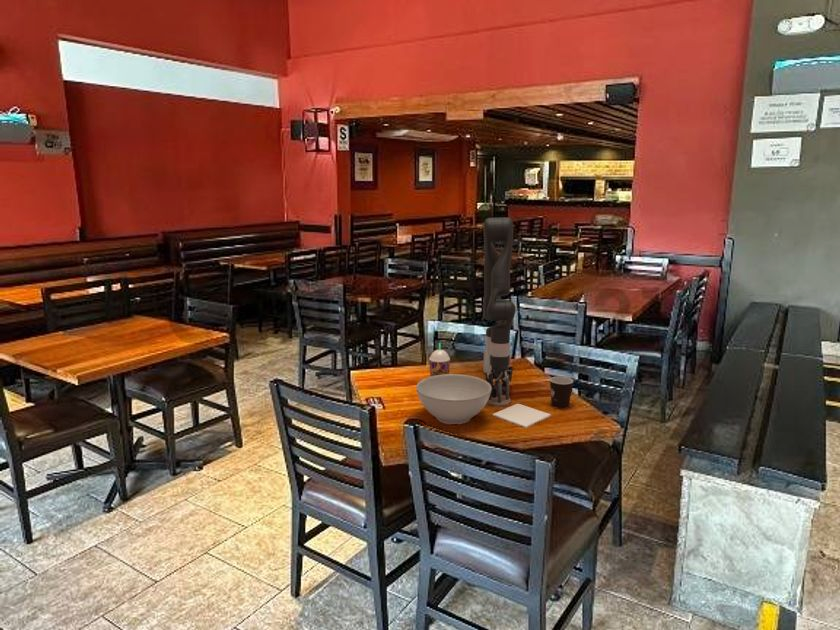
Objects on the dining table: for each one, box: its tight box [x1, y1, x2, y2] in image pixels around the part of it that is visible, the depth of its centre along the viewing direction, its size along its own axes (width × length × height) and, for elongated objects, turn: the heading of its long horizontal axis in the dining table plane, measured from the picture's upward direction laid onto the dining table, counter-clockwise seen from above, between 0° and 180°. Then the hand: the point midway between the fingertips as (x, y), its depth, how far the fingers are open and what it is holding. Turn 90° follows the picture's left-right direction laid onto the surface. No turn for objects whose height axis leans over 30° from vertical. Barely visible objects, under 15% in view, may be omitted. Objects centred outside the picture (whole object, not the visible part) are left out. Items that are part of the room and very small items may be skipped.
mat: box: [491, 403, 552, 429], centre depth 216 cm, size 15×15×1 cm
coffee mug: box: [549, 376, 574, 409], centre depth 227 cm, size 12×9×10 cm
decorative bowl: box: [415, 373, 492, 425], centre depth 214 cm, size 27×27×12 cm
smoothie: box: [428, 342, 451, 377], centre depth 240 cm, size 8×8×20 cm
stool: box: [486, 379, 511, 408], centre depth 228 cm, size 9×9×10 cm
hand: (498, 395), depth 228 cm, fingers closed on stool, 5 cm apart
